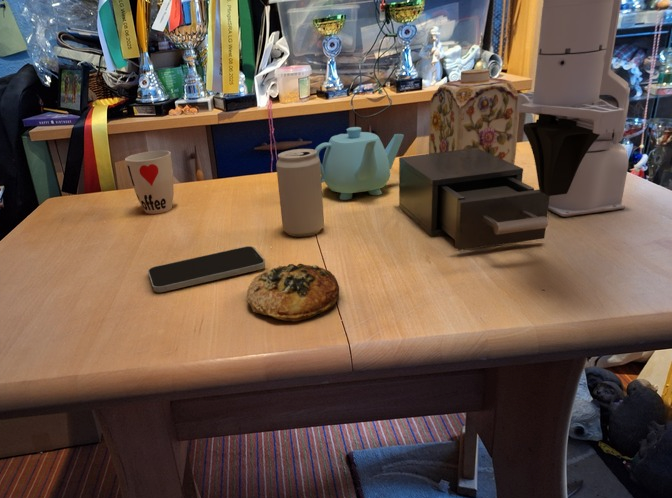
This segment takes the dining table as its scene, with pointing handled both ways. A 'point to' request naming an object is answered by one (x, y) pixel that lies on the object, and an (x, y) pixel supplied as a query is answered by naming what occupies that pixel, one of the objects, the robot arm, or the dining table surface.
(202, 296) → the dining table surface
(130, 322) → the dining table surface
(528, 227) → the dark drawer box
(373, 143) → the teapot
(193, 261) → the smartphone
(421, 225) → the small drawer cabinet
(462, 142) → the decorative jar
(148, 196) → the cup
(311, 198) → the beverage can
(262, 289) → the bread roll
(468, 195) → the rectangular block
